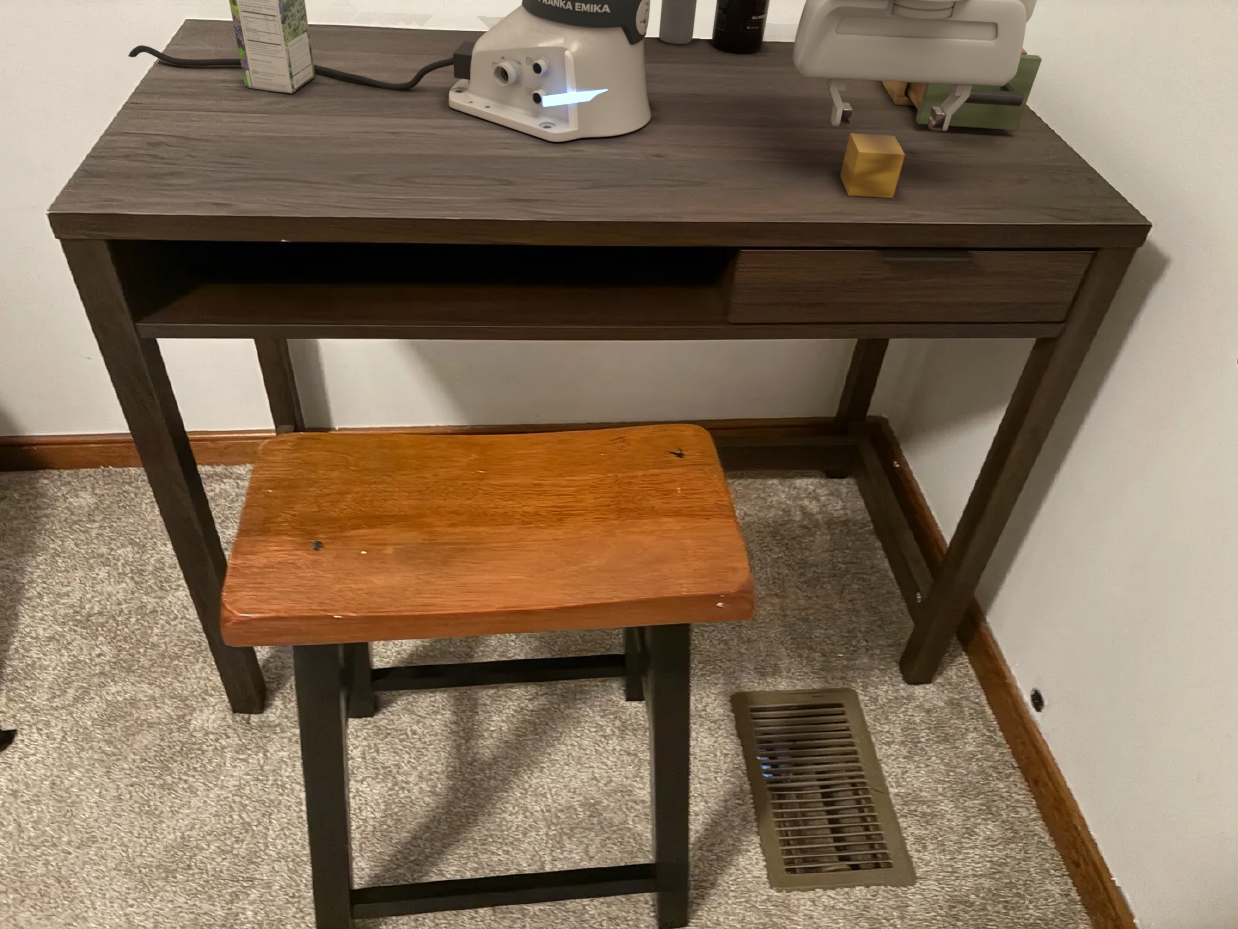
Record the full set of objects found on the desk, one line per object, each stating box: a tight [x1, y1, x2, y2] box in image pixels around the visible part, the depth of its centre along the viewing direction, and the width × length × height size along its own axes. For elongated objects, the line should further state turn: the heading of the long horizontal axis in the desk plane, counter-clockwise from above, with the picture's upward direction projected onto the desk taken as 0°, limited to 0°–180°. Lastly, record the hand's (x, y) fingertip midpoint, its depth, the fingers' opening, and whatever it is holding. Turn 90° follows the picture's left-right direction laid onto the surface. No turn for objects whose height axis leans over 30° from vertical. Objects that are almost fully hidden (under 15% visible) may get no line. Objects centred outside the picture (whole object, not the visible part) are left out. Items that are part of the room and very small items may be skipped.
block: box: [839, 132, 906, 199], centre depth 91 cm, size 4×4×4 cm
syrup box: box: [228, 0, 316, 94], centre depth 99 cm, size 6×6×14 cm
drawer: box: [905, 47, 1042, 131], centre depth 105 cm, size 18×11×8 cm, turn 0°
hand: (888, 126), depth 89 cm, fingers open, 8 cm apart
